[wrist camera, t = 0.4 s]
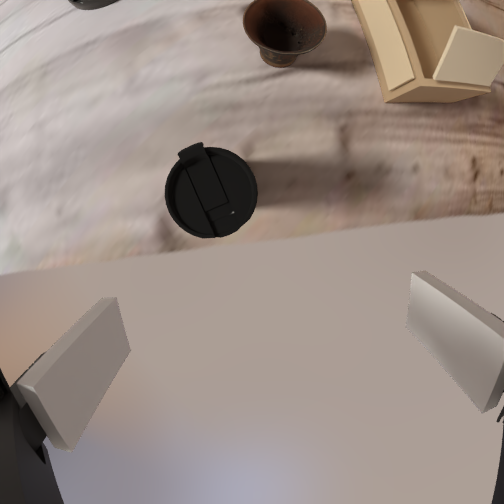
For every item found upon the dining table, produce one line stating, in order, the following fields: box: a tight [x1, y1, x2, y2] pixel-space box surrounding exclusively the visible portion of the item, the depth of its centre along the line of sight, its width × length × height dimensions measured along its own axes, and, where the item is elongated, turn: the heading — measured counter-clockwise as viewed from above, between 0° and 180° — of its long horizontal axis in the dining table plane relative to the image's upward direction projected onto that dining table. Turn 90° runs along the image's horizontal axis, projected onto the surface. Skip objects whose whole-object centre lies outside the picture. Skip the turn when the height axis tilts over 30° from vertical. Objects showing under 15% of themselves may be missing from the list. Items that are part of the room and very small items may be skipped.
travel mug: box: [165, 142, 258, 238], centre depth 28 cm, size 6×7×20 cm
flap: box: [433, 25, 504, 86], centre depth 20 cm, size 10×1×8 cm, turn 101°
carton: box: [351, 0, 491, 103], centre depth 28 cm, size 20×14×10 cm
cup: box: [243, 0, 327, 68], centre depth 29 cm, size 9×9×10 cm
